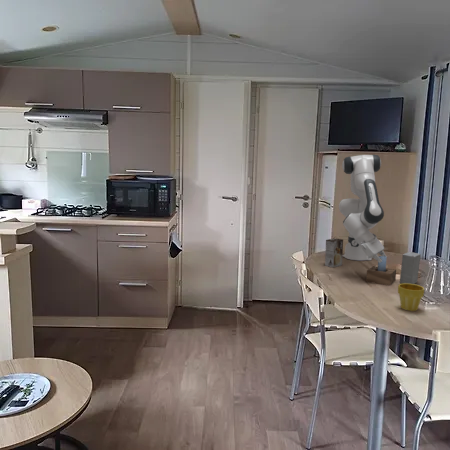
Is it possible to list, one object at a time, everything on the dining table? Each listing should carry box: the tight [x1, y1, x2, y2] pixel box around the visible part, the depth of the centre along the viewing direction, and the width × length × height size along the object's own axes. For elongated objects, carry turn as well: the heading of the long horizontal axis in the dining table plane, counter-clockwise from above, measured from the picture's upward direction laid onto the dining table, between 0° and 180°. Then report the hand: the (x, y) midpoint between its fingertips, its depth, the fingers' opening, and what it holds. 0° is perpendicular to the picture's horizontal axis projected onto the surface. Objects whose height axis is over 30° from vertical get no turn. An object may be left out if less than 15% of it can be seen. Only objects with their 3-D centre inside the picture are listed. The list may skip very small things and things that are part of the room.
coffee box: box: [324, 238, 344, 268], centre depth 262 cm, size 9×6×16 cm
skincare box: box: [399, 251, 422, 284], centre depth 225 cm, size 8×7×16 cm
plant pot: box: [397, 283, 425, 312], centre depth 187 cm, size 10×10×10 cm
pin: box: [377, 255, 388, 272], centre depth 229 cm, size 4×4×12 cm
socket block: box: [365, 266, 397, 287], centre depth 229 cm, size 12×12×6 cm
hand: (383, 260), depth 228 cm, fingers open, 8 cm apart
